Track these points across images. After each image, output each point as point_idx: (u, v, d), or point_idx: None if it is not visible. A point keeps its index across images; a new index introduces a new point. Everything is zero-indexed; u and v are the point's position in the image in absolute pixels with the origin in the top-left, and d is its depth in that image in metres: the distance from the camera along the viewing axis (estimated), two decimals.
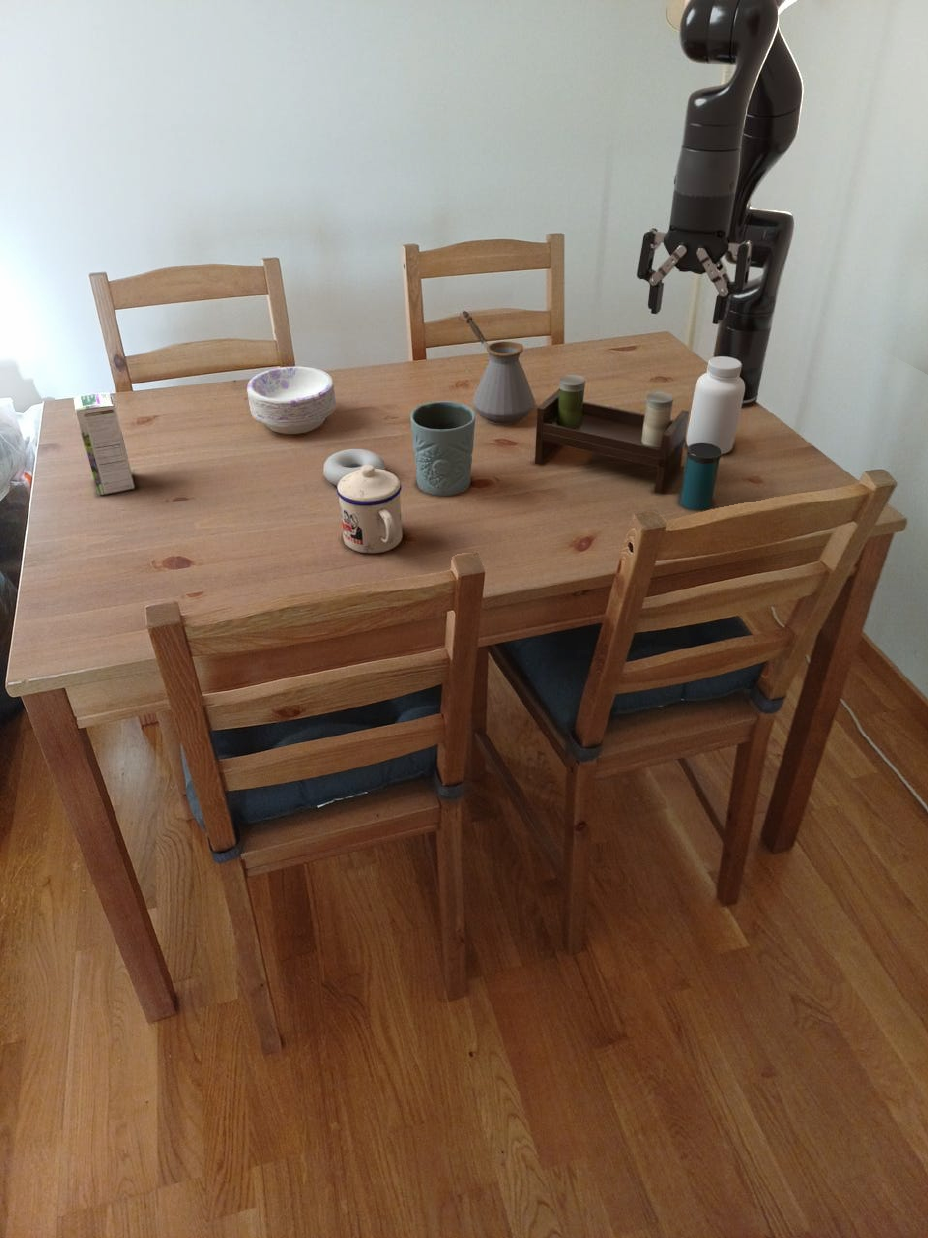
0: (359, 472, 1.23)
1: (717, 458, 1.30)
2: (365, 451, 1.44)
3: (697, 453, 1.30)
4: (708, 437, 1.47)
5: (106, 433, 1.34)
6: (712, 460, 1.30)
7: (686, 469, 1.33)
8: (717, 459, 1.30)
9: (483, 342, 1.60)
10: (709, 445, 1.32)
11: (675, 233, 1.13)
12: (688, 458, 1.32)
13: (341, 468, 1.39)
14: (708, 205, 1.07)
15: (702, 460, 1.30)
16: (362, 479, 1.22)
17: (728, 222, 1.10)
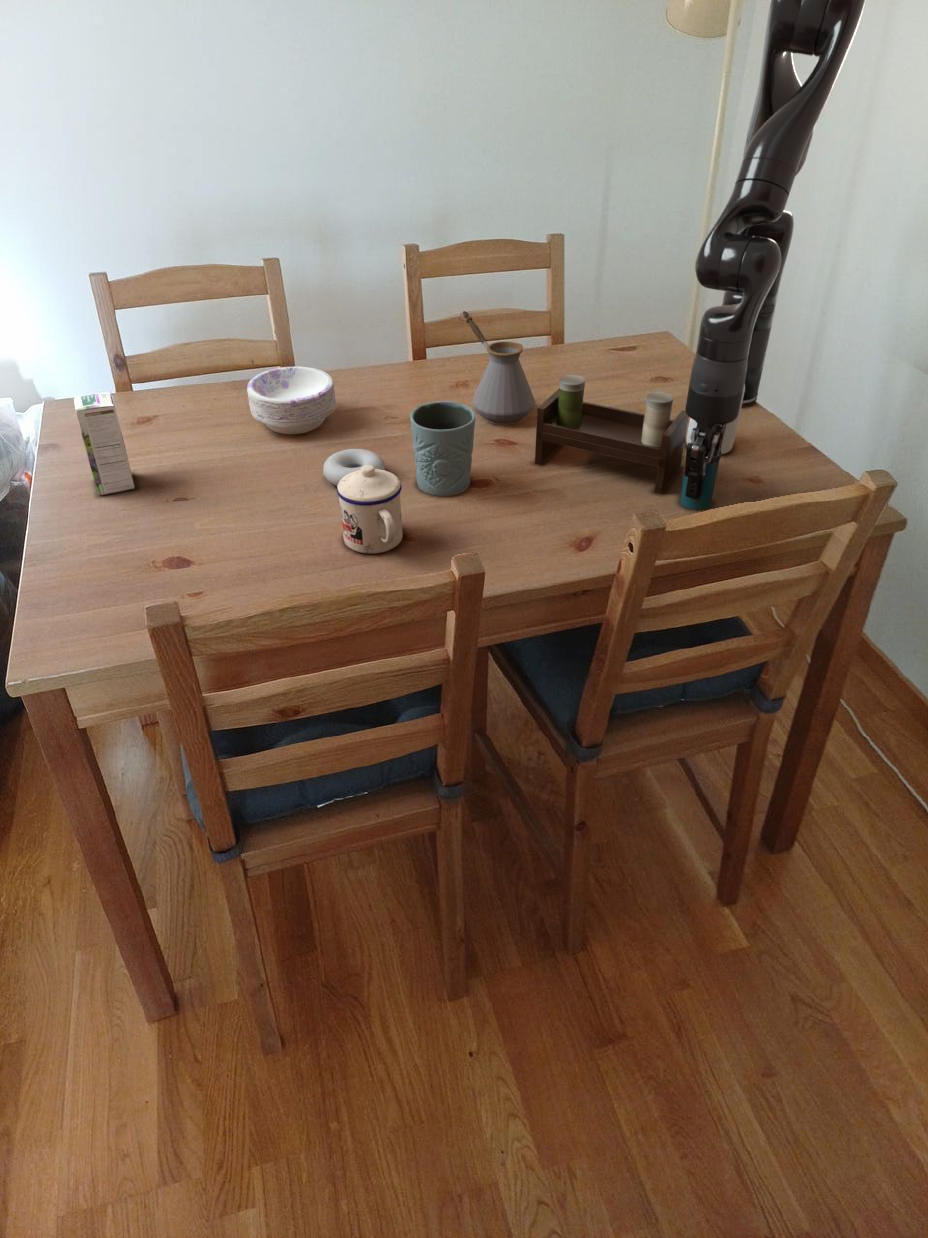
0: (359, 472, 1.23)
1: (717, 458, 1.30)
2: (365, 451, 1.44)
3: None
4: None
5: (106, 433, 1.34)
6: (712, 460, 1.30)
7: None
8: (717, 459, 1.30)
9: (483, 342, 1.60)
10: None
11: None
12: None
13: (341, 468, 1.39)
14: (689, 392, 1.26)
15: None
16: (362, 479, 1.22)
17: (701, 416, 1.25)
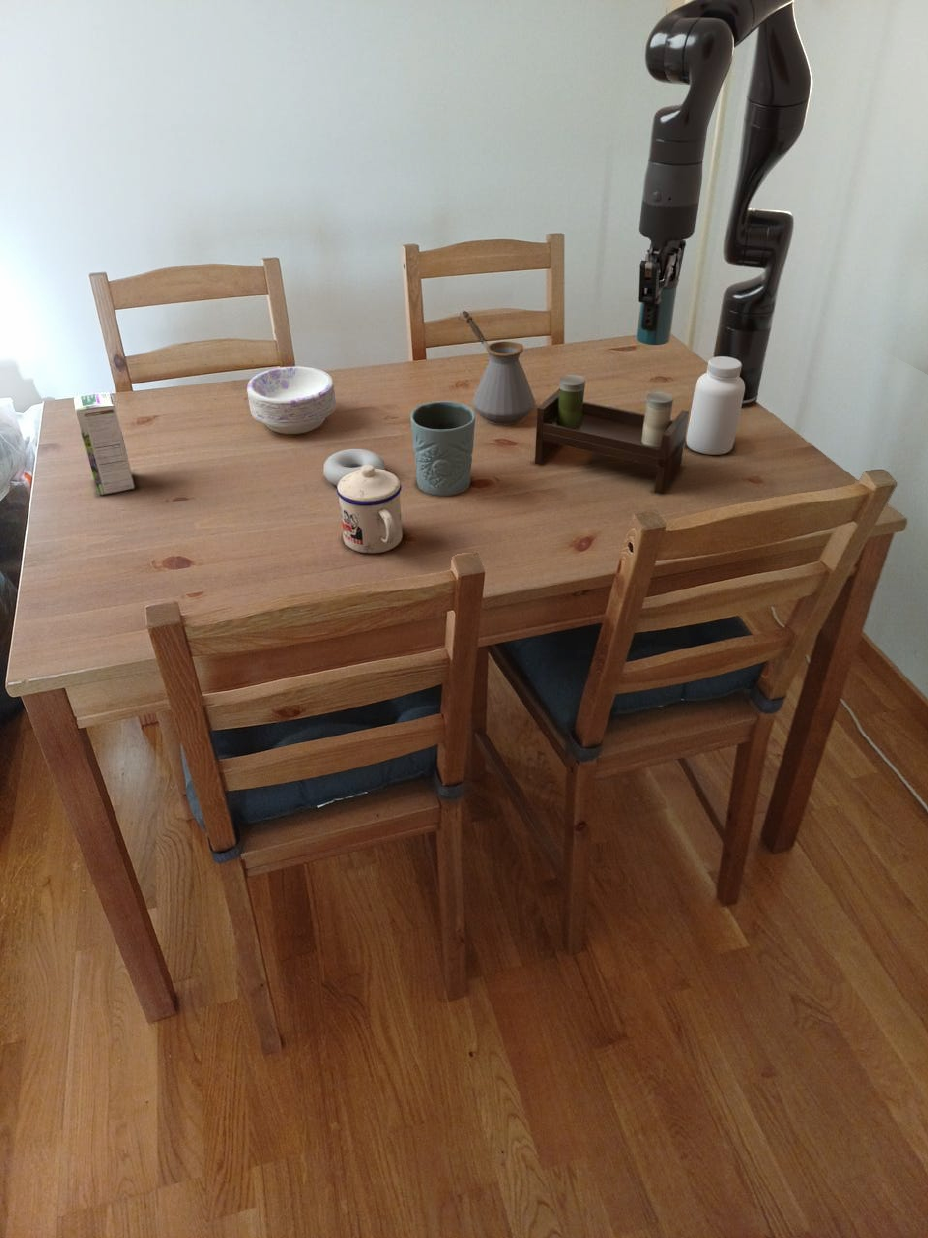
0: (359, 472, 1.23)
1: (673, 283, 1.23)
2: (365, 451, 1.44)
3: None
4: (708, 437, 1.47)
5: (106, 433, 1.34)
6: (668, 284, 1.22)
7: None
8: (673, 284, 1.23)
9: (483, 342, 1.60)
10: None
11: None
12: None
13: (341, 468, 1.39)
14: (642, 208, 1.19)
15: None
16: (362, 479, 1.22)
17: (655, 231, 1.17)
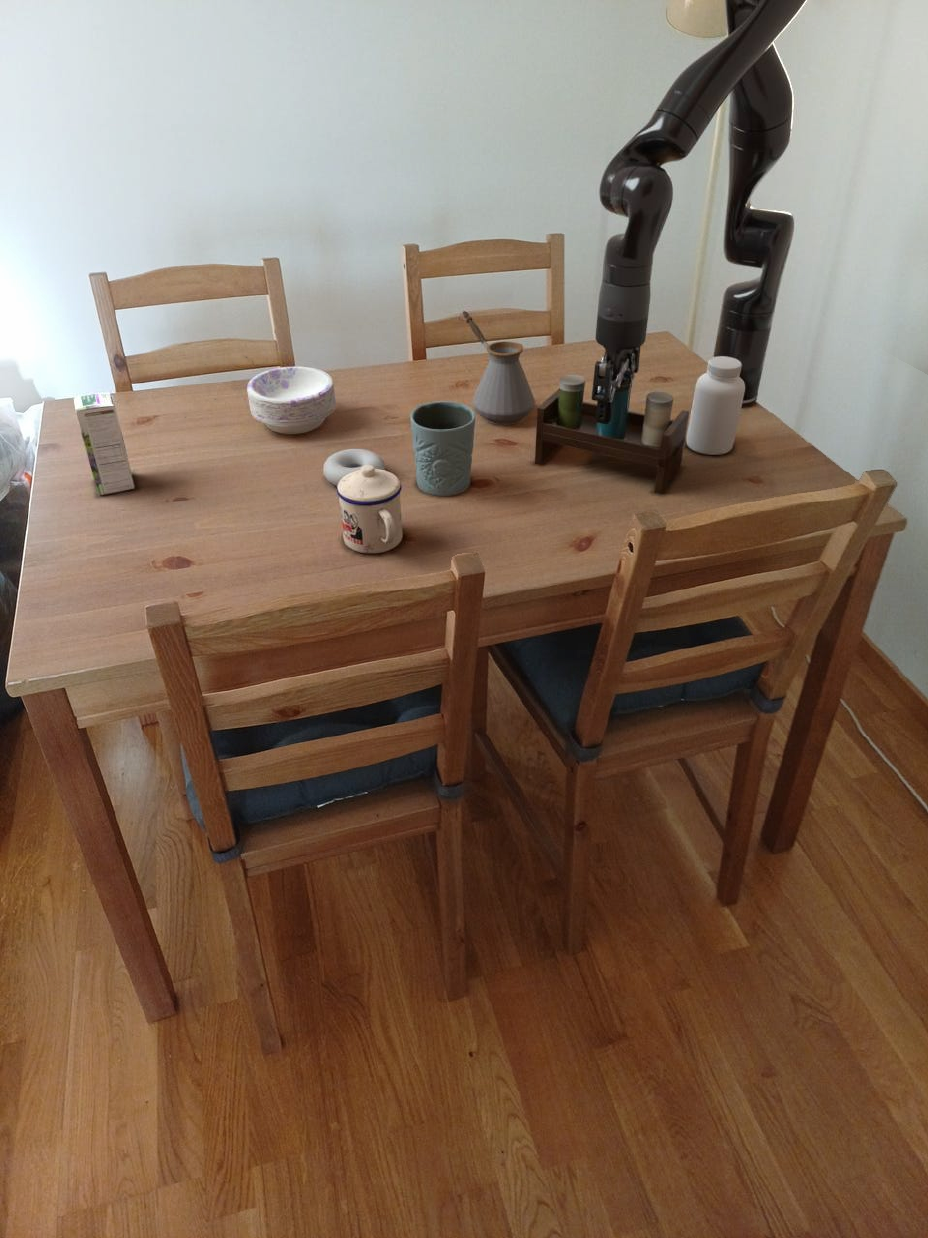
0: (359, 472, 1.23)
1: (627, 387, 1.36)
2: (365, 451, 1.44)
3: None
4: (708, 437, 1.47)
5: (106, 433, 1.34)
6: (622, 388, 1.36)
7: None
8: (627, 388, 1.36)
9: (483, 342, 1.60)
10: None
11: None
12: None
13: (341, 468, 1.39)
14: (598, 319, 1.32)
15: None
16: (362, 479, 1.22)
17: (608, 341, 1.31)
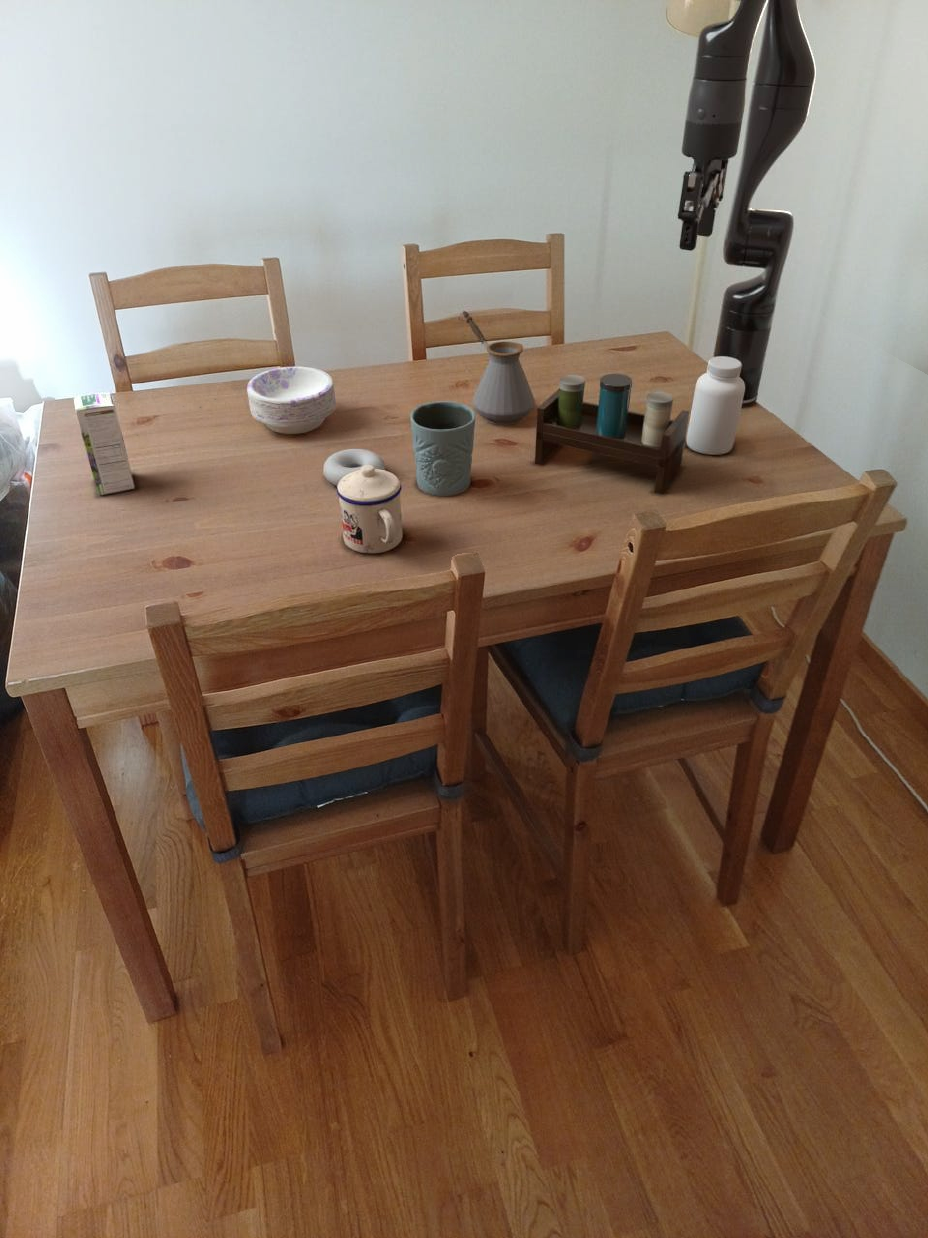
0: (359, 472, 1.23)
1: (627, 387, 1.36)
2: (365, 451, 1.44)
3: (608, 382, 1.36)
4: (708, 437, 1.47)
5: (106, 433, 1.34)
6: (622, 388, 1.36)
7: (599, 399, 1.39)
8: (627, 388, 1.36)
9: (483, 342, 1.60)
10: (621, 376, 1.38)
11: None
12: (601, 388, 1.38)
13: (341, 468, 1.39)
14: (685, 128, 1.20)
15: (613, 388, 1.36)
16: (362, 479, 1.22)
17: (698, 150, 1.19)
